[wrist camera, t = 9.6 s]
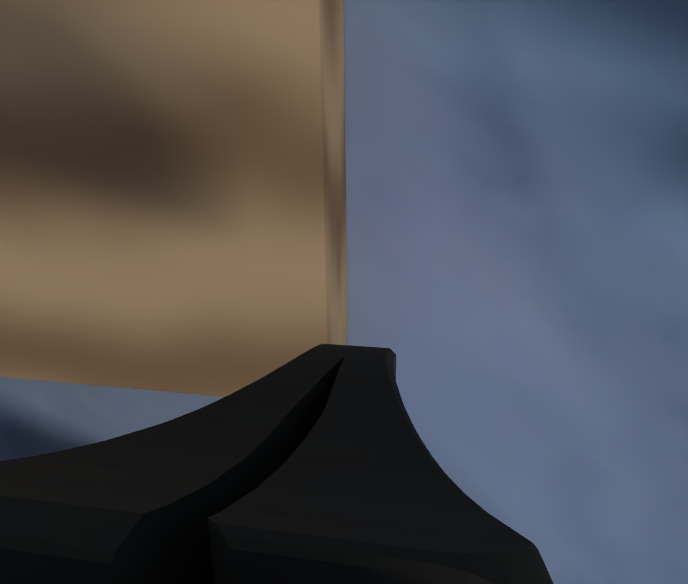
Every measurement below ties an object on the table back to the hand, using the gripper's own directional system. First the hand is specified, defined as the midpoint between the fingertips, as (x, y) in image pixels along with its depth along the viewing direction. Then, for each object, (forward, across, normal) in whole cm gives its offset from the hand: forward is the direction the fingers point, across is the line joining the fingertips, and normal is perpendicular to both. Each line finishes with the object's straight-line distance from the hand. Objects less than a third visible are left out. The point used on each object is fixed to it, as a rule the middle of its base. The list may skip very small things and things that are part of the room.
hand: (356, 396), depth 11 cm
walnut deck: (+9, +9, -3) cm, 13 cm away
